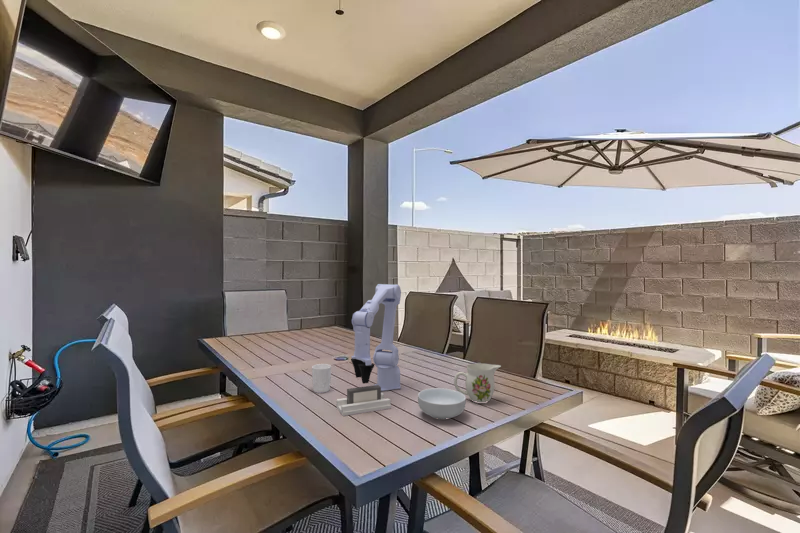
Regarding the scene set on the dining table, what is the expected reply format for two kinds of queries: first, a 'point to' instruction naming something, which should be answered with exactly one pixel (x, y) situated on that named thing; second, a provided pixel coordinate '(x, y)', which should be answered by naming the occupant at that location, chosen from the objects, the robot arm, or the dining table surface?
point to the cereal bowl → (441, 402)
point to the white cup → (321, 377)
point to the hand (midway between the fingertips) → (362, 380)
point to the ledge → (362, 406)
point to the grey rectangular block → (363, 394)
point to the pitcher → (478, 381)
